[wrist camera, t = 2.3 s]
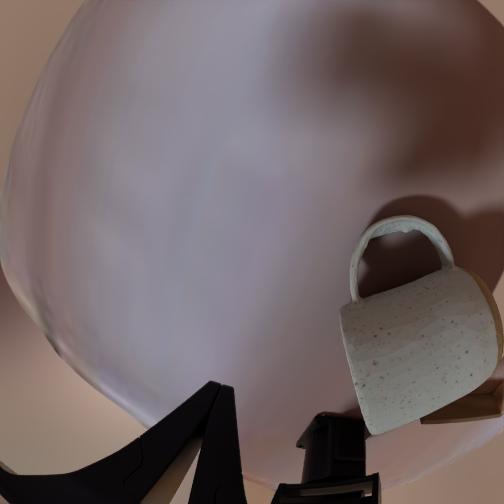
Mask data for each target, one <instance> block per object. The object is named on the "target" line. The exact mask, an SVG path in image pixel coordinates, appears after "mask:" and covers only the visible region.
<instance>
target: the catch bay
mask: <svg viewBox="0 0 504 504" xmlns="http://www.w3.org/2000/svg"><path fill="white" fill-rule="evenodd" d="M503 414H504V381H503V382H502V383H501V384H500V385H499V387H498V388H497V389H496V390H495V392H494V393H493V394H479V395H465V396H463V397H461V398H459V399H457V400H455V401H453V402H451V403H449V404H447V405H445V406H444V407H442V408H440V409H438V410H436V411H434V412H432V413H430V414H428V415H426V416H423V417H421V418H420V421H421V424H443V423H458V422H468V421H477V420H484V419H491V418H497V417H501V416H502V415H503Z"/></svg>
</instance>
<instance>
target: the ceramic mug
mask: <svg viewBox="0 0 504 504" xmlns="http://www.w3.org/2000/svg"><path fill="white" fill-rule="evenodd" d="M412 229H415V230H420V231H421V232H422V233H424V234H425V235H427V236H428V237H429V239H430V240H431V242H432V244H433V245H434V246H435V248H436V250H437V253H438V254H439V257H440V260H441V263H442V268H441V270H438V271H435V272H433V273H430V274H429V275H425V276H424V277H422V278H420V279H417V280H415V281H413V282H411V283H408V284H405V285H402V286H399V287H396V288H394V289H390V290H387V291H385V292H381V293H378V294H374V295H372V296H370V297H366V298H363V299H362V298H360V296H359V293H358V269H359V263H360V259H361V257H362V255H363V252H364V249H365V248H366V247H367V244H368V242H369V240H370V239H372V238H374V237H378V236H381V235H384V234H387V233H391V232H397V231H402V232H405V233H407V232H409V231H411V230H412ZM350 291H351V296H352V301H351V303H349V304H347V305H344V306H342V307H341V308H340V312H339V319H340V326H341V332H342V337H343V342H344V346H345V350H346V354H347V360H348V363H349V366H350V371H351V374H352V378H353V383H354V386H355V389H356V393H357V397H358V401H359V404H360V408H361V412H362V414H363V417H364V420H365V424H366V426H367V428H368V430H369V432H370V433H371V434H372V435H378V434H382V433H385V432H387V431H390V430H392V429H395V428H397V427H400V426H402V425H405V424H407V423H409V422H412V421H414V420H416V419H419V418H421V417H423V416H426V415H428V414H430V413H432V412H434V411H436V410H438V409H440V408H442V407H444V406H445V405H447V404H449V403H451V402H453V401H455V400H457V399H459V398H461V397H463V396H465V395H467V394H468V393H470V392H472V391H473V390H475V389H476V388H477V387H479V386H480V385H481V384H482V383H483V382H485V381H486V380H487V379H488V378H489V377H490V376H491V375H492V374H493V373H494V372H495V371H496V369H497V367H498V365H499V363H500V361H501V357H502V353H503V343H504V337H503V328H502V321H501V317H500V314H499V310H498V307H497V304H496V302H495V300H494V297H493V295H492V293H491V292H490V290H489V288H488V286H487V285H486V284H485V282H484V281H483V280H482V279H481V278H480V277H479V276H478V275H477V274H476V273H474V272H473V271H471V270H470V269H468V268H465V267H458V266H455V264H454V258H453V255H452V252H451V249H450V247H449V245H448V243H447V241H446V239H445V238H444V236H443V235H442V234H441V233H440V231H439V230H438V229H437V228H436V227H435V226H434V225H432V224H431V223H429V222H427V221H425V220H424V219H422V218H419V217H416V216H412V215H400V216H392V217H389V218H385V219H382V220H380V221H378V222H376V223H374V224H373V225H371V226H370V227H369V228H368V229H367V230H366V231H365V232H364V233H363V234H362V236H361V237H360V238H359V240H358V242H357V244H356V246H355V248H354V251H353V254H352V258H351V263H350Z"/></svg>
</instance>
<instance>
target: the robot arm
mask: <svg viewBox="0 0 504 504" xmlns="http://www.w3.org/2000/svg"><path fill="white" fill-rule="evenodd" d="M370 435H371V433H370V432H369V430H368V428H367V426H366V424H365V421H361V420H351V419H342V418H334V417H326V416H316V417H314V419H313V420H312V422H311V423H310V424H309V426H308V427H307V429H306V430H305V432H304V433H303V434H302V436H301V437H300V439H299V440H298V441H297V443H296V447H297V448H302V449H306V451H305V459H304V467H303V474H302V481H301V484H286V483H280V484H279V486H278V489H277V490H276V492H275V495H274V497H273V499H272V502H271V504H381V482H380V477H379V472H378V473H374V474H372V475H368V476H366V442H365V440H366V439H367V438H368V437H369V436H370ZM200 448H201V450H200ZM199 450H200V454H199V458H198V462H197V467H196V471H195V475H194V480H193V484H192V488H191V493H190V497H189V502H188V504H247V500H246V496H245V490H244V484H243V475H242V467H241V458H240V449H239V439H238V428H237V418H236V407H235V395H234V388H233V387H231V386H228V385H221V383H218V382H214V381H209V382H208V383H206V384H205V385H204V386H203V387H202V388H201V389H199V390H198V391H197V392H196V393H194V394H193V395H192V396H191V397H190V398H188V399H187V400H186V401H185V402H183V403H182V404H181V405H180V406H178V407H177V408H176V409H175V410H173V411H172V412H171V413H170V414H168V415H167V416H166V417H164V418H163V419H162V420H161V421H159V422H158V423H157V424H155V425H154V426H153V427H151V428H150V429H149V430H147V431H146V432H145V433H143V434H142V435H141V436H140V438H139V437H138V438H136V439H135V440H134V441H132V442H131V443H129V444H128V445H126V446H125V447H123V448H122V449H120V450H119V451H117V452H115V453H113V454H111V455H110V456H107V457H105V458H104V459H101V460H99V461H97V462H95V463H93V464H91V465H88V466H86V467H84V468H82V469H79V470H77V471H74V472H70V473H65V474H54V475H18V474H17V473H15V472H14V471H13V470H11V469H10V468H9V467H7V466H6V465H4V463H2V462H1V461H0V504H169V503H170V502H171V500H172V498H173V496H174V495H175V493H176V491H177V490H178V488H179V486H180V484H181V482H182V481H183V479H184V477H185V475H186V474H187V472H188V470H189V468H190V466H191V464H192V463H193V461H194V459H195V457H196V455H197V453H198V452H199ZM370 493H372V496H367V497H365V494H370Z"/></svg>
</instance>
